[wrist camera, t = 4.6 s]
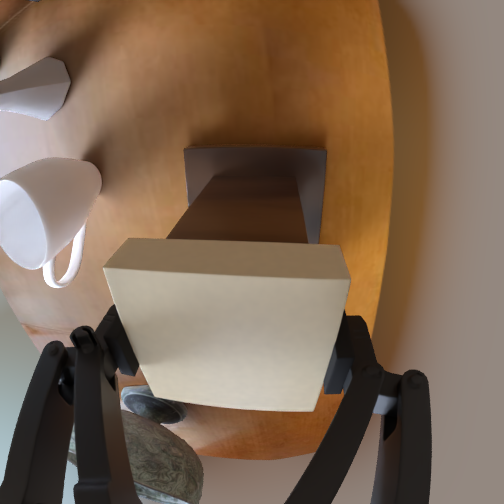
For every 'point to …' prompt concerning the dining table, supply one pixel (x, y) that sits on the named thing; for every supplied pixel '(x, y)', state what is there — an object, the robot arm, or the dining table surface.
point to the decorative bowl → (157, 449)
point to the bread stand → (253, 193)
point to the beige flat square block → (231, 318)
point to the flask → (36, 89)
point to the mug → (47, 213)
